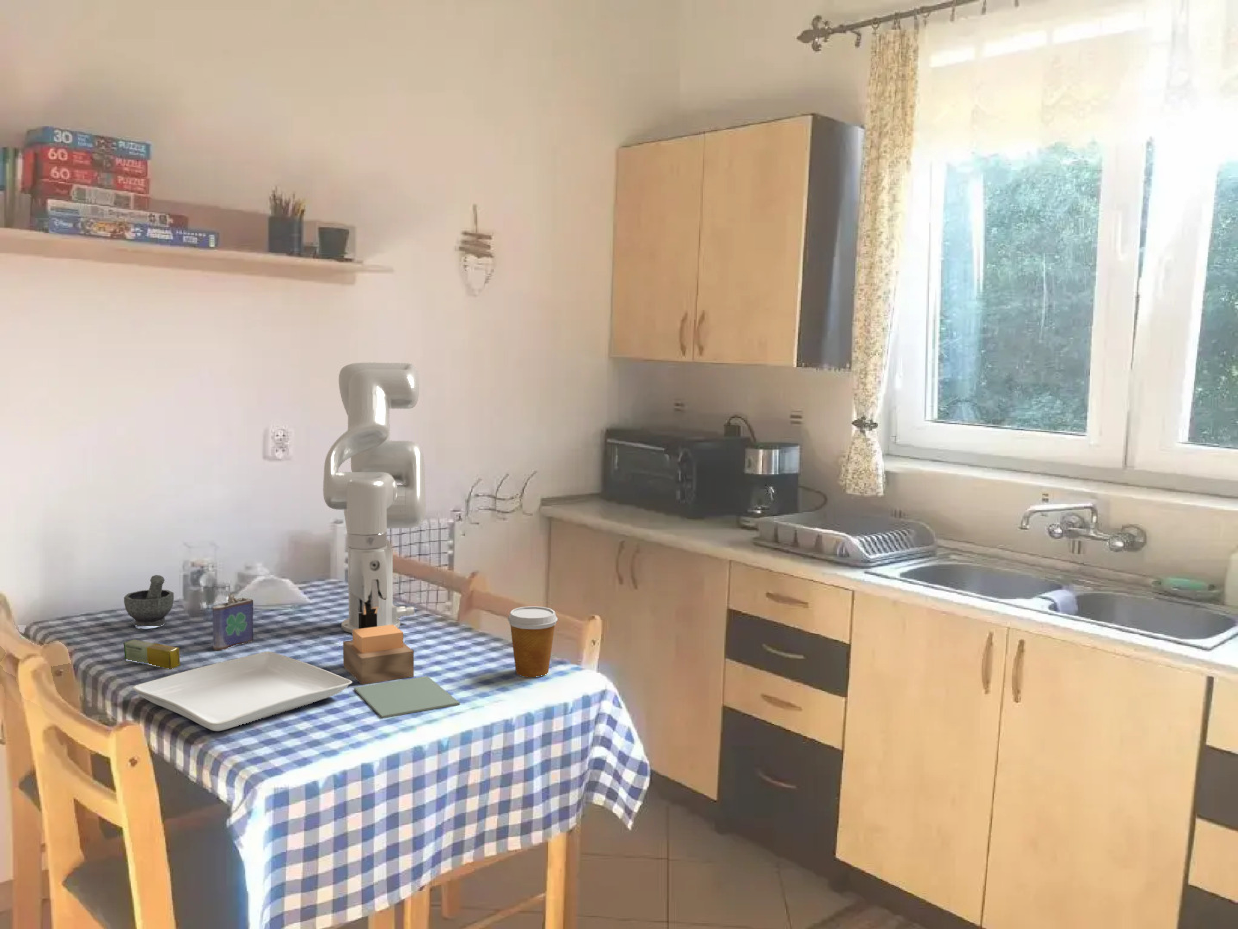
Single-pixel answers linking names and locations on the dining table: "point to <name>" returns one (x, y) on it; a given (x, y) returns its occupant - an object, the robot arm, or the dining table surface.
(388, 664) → the walnut block
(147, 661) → the medication box
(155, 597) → the mortar and pestle
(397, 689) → the rubber mat
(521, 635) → the disposable coffee cup
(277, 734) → the dining table surface
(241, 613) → the flask
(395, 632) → the orange block
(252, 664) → the square plate
